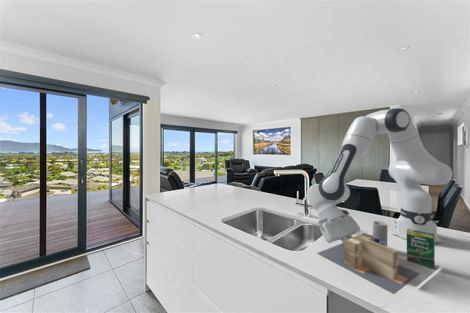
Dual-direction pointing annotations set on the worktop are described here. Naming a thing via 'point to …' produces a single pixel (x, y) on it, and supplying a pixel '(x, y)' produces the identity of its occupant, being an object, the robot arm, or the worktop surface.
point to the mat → (371, 271)
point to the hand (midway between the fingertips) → (353, 247)
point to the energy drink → (380, 232)
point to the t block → (371, 255)
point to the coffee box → (421, 248)
